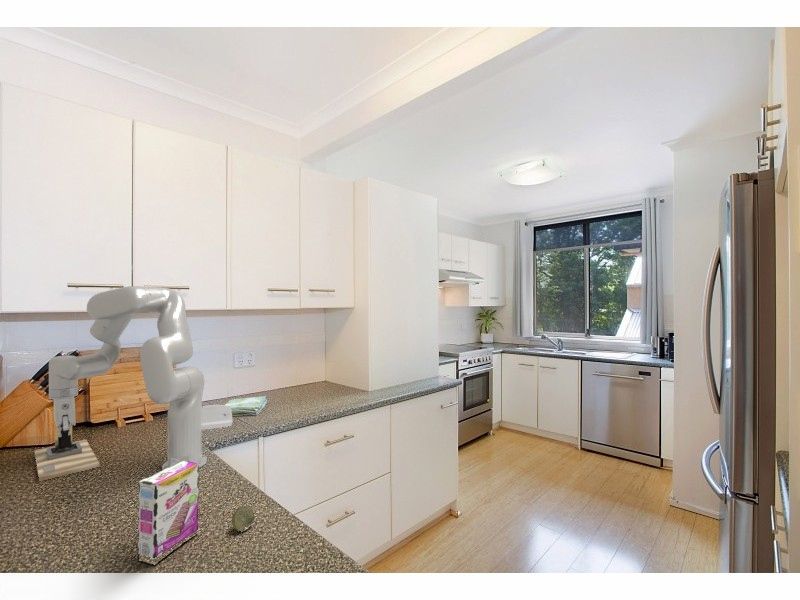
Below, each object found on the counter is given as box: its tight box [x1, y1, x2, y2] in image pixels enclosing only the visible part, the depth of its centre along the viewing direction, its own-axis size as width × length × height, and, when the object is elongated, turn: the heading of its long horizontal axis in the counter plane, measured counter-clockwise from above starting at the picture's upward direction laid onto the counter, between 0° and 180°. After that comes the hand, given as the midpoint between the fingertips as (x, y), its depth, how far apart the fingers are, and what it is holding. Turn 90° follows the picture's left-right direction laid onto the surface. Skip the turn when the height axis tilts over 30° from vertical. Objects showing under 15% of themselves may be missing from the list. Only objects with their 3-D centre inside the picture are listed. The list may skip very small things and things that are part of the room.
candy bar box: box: [137, 461, 200, 558], centre depth 82 cm, size 11×5×16 cm, turn 163°
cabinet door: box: [33, 439, 100, 482], centre depth 128 cm, size 30×14×3 cm, turn 46°
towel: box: [224, 395, 268, 417], centre depth 186 cm, size 18×21×5 cm
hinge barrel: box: [54, 424, 73, 450], centre depth 131 cm, size 4×4×7 cm
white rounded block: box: [201, 404, 234, 431], centre depth 163 cm, size 17×5×10 cm, turn 111°
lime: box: [231, 505, 255, 532], centre depth 89 cm, size 4×5×5 cm
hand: (63, 445), depth 131 cm, fingers closed on hinge barrel, 4 cm apart
